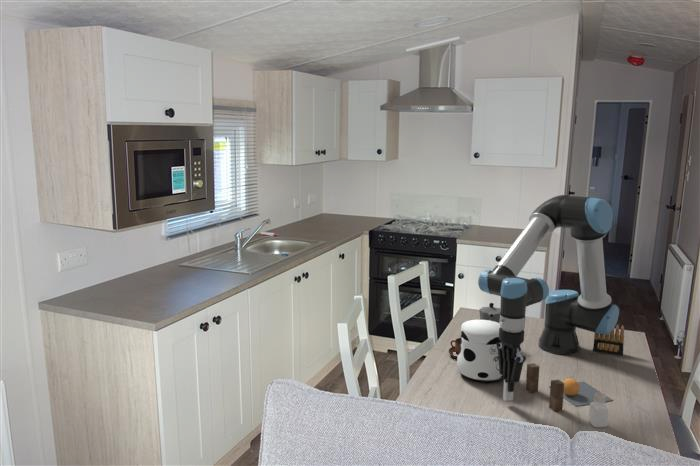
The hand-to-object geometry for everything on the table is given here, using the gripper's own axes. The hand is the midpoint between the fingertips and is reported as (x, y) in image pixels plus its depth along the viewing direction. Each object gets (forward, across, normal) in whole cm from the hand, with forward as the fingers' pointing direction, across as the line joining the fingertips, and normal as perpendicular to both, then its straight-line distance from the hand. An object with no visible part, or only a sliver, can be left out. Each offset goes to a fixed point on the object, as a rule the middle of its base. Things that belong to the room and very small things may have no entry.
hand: (507, 399), depth 177 cm
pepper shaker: (+2, +18, +19) cm, 26 cm away
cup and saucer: (+2, -39, +5) cm, 39 cm away
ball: (-1, 0, +23) cm, 23 cm away
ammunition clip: (+2, -26, +60) cm, 65 cm away
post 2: (+2, +6, +13) cm, 15 cm away
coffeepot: (+2, -46, +20) cm, 50 cm away
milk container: (+2, -22, +3) cm, 22 cm away
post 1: (+2, -6, +13) cm, 15 cm away
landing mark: (+2, 0, +27) cm, 27 cm away
